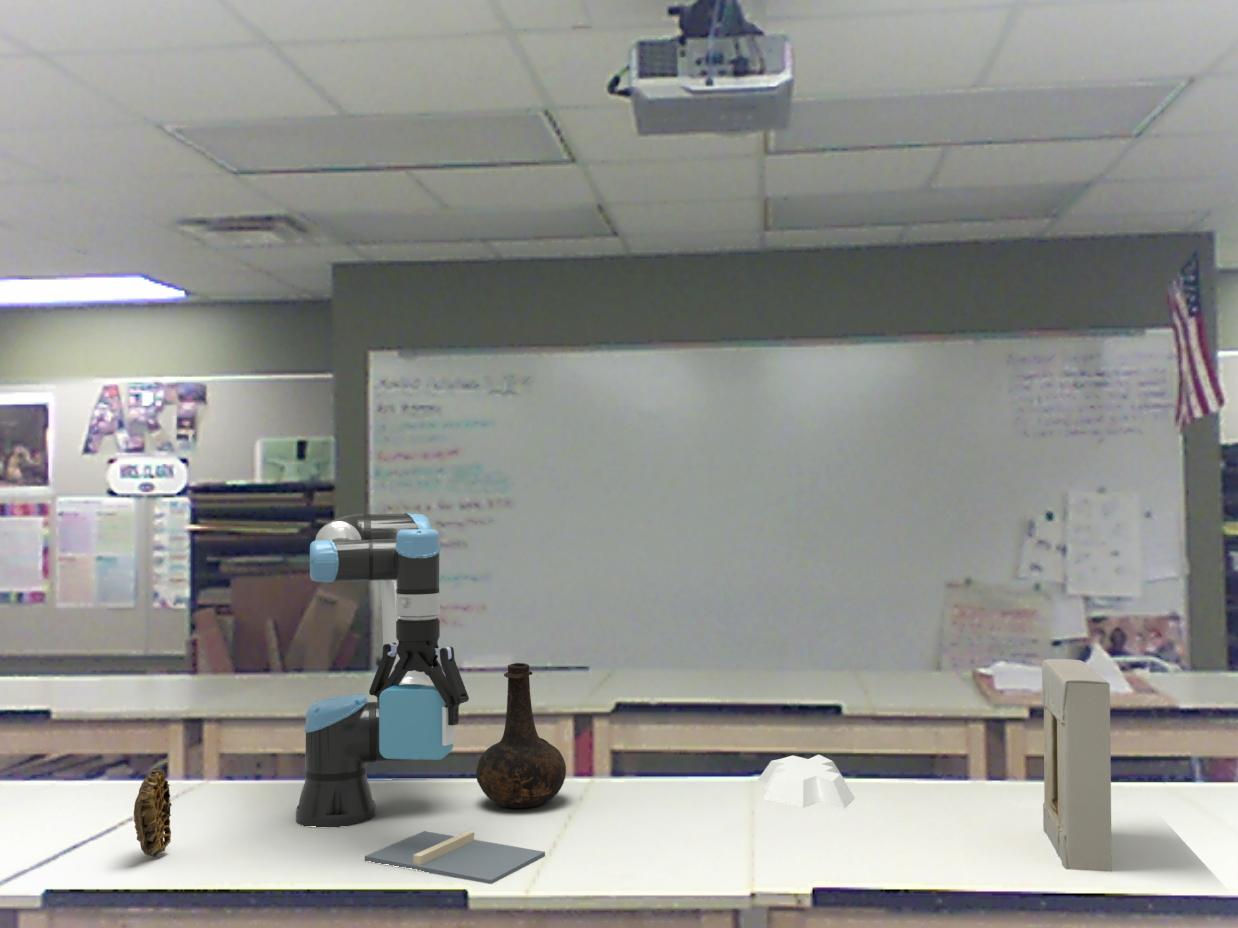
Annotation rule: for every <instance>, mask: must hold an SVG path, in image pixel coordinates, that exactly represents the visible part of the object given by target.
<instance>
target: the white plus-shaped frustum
mask: <svg viewBox="0 0 1238 928" xmlns="http://www.w3.org/2000/svg"><path fill="white" fill-rule="evenodd" d="M757 781H760V782H763V783H766V785H765V787H764V791H766V793H765V794H764V797H763V800H766V801H772V802H777V803H782V804H785V803H786V804H785V805H789V806H792V805H794V806H793V807H796V806H798V807H797V808H800V807H802V808H801V809H805V808H807V807H806V806H808V807H811V806H814V805H816V804H815V803H817V804H819V803H818V802H820V803H823V802H824V804H826V803H827V804H826V805H829V804H831V805H830V806H832V805H834V806H833V807H835V806H837V807H836V808H838V807H841V808H844V809H845V808H846V807H847V806H848V805H849V804H850V803H851V802H852V801H853V800H854V798H855V799H856V797H855V796H854V794H853V793H852V791H851V789H850V788H849V785H848V784H847V783H846V780H845V778H844V777H843V775H842V773H841V772H840V771H839V769H838V767H837V765H836V764H835V762H834V761H833V760H831V759H829V758H827V757H825V756H823V755H821V754H816V755H814V756H812V757H811V758H805V757H801V756H797V755H789V756H787V757H783V758H779V759H774V760H770V762H769V763H768V764H767V766H766V767H765V769H764V771H763V772H762V773H761V774H760V776H759V777H758V778H757ZM854 801H855V800H854ZM854 801H853V802H854ZM853 802H852V803H853ZM813 804H814V805H813ZM810 805H811V806H810ZM804 807H805V808H804ZM841 808H840V809H841ZM844 809H843V810H844Z"/></svg>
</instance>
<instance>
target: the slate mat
mask: <svg viewBox="0 0 1238 928" xmlns="http://www.w3.org/2000/svg"><path fill="white" fill-rule="evenodd" d="M544 857H546V852H545V851H542V850H536V849H532V848H525V847H519V846H515V845H508V844H502V843H497V842H496V843H495V842H489V841H484V840H479V839H475V831H470V830H466V831H464V832H461V833H460V834H456V835H448V834H445V833H444V834H443V833H437V832H432V831H425V830H423V831H421V832H419V833H417V834H413V835H412V836H410V837H407V838H405V839H402V840H400V841H398V842H395V843H393V844H390V845H389V846H385V847H384V848H380V849H378V850H375V851H374V852H371V853H370V854H367V855H364V862H365V861H371V862H375V863H374V864H377V863H381V864H380V865H382V864H389V865H394V866H399V867H406V868H412V869H417V870H421V871H424V872H423V873H427V872H429V873H428V874H433V875H439V876H444V877H451V878H454V879H455V878H456V879H461V880H468V881H472V882H479V883H483V884H490V885H492V884H493V883H496V882H497V881H500V880H502V879H503V878H505V877H507V876H509V875H511V874H513V873H515V872H517V871H518V870H521V869H523V868H525V867H526V866H528V865H530V864H533V863H534V862H537V861H538V860H540V859H542V858H544ZM371 862H370V863H371ZM399 867H398V868H399ZM421 871H420V872H421Z"/></svg>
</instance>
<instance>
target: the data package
mask: <svg viewBox="0 0 1238 928" xmlns="http://www.w3.org/2000/svg"><path fill="white" fill-rule="evenodd" d="M445 705H446V703H445V702H444V700H443V699H442V697H441V695H440V694H439V692H438V690H437V689H436V687H435V686H434V685H431V684H430V685H393V686H391V687H389V688H387V689H385V690H384V691H382V693H381V694H380V697H379V751H380V754H381V755H382V756H383V757H384V758H386V759H417V760H424V761H425V760H427V761H429V760H430V761H432V760H433V761H435V760H436V761H439V760H440V761H441V760H442V759H445V757H446V756H447V755H449V754H450V752H452V751H453V748H454V743H453V744H450V745H447V746H444V745H442V707H444V706H445Z"/></svg>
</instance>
